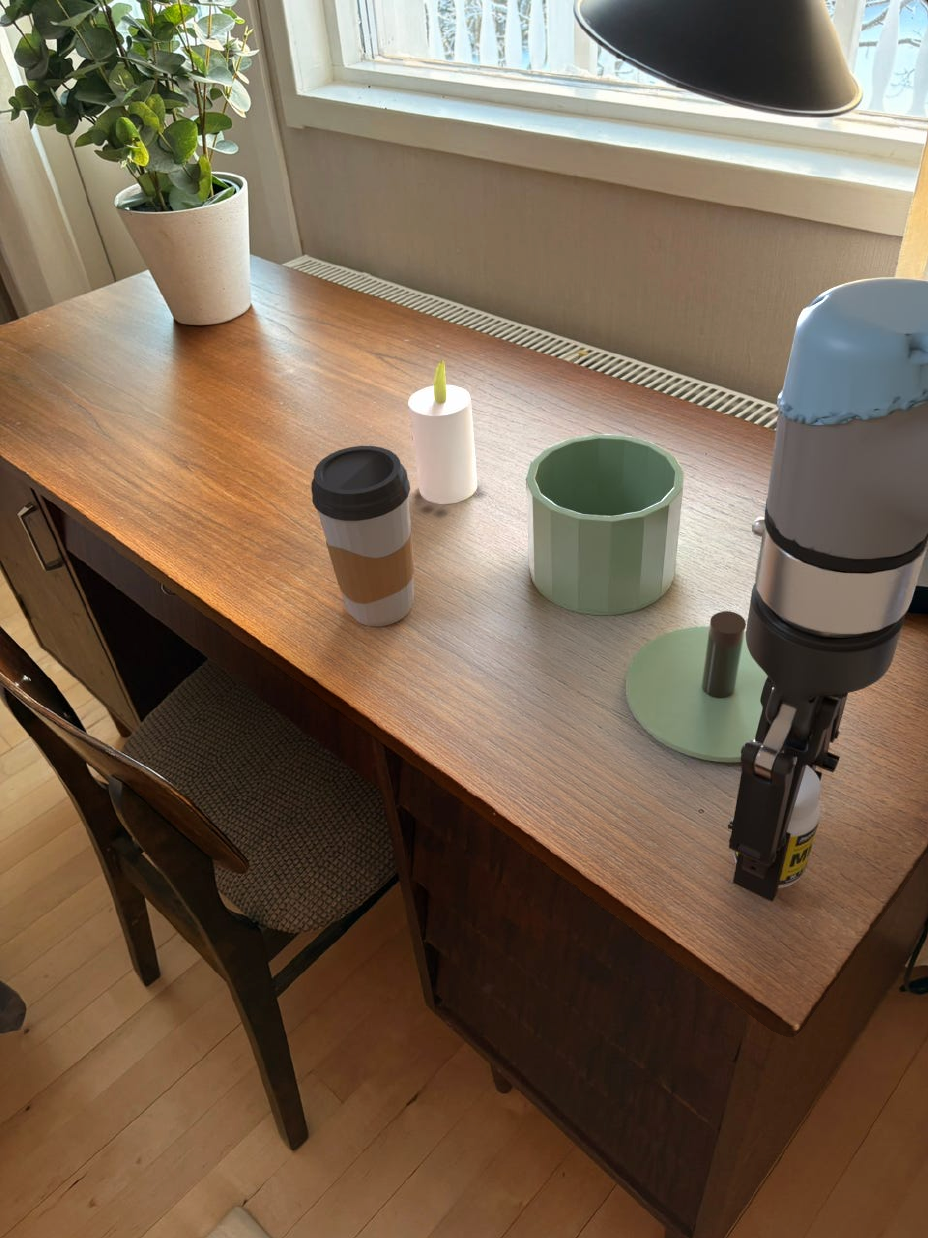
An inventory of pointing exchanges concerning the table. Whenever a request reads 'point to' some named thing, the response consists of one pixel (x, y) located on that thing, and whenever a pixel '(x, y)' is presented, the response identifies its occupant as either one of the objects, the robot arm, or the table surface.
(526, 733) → the table surface
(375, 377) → the table surface
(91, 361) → the table surface
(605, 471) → the pot
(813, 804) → the supplement bottle
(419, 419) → the candle
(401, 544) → the coffee cup
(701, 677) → the lid
